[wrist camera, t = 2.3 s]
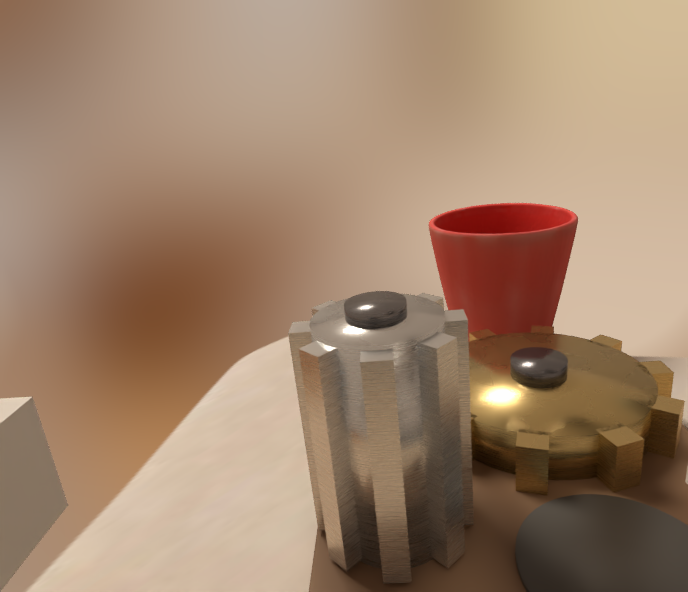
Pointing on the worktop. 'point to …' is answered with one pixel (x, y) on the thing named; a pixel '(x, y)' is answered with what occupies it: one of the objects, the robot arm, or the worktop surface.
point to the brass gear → (567, 408)
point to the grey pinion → (387, 428)
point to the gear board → (553, 538)
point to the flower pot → (504, 263)
